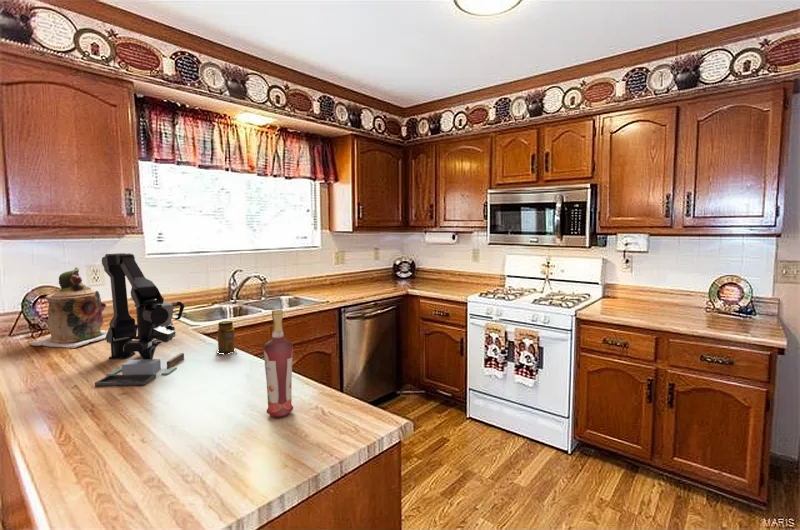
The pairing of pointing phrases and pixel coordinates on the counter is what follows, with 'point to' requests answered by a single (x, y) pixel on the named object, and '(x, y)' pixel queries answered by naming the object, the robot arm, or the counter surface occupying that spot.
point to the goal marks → (162, 373)
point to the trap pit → (125, 380)
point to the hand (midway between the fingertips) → (149, 364)
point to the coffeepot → (171, 312)
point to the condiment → (226, 338)
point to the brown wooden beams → (170, 363)
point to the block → (141, 367)
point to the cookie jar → (73, 314)
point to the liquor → (278, 369)
